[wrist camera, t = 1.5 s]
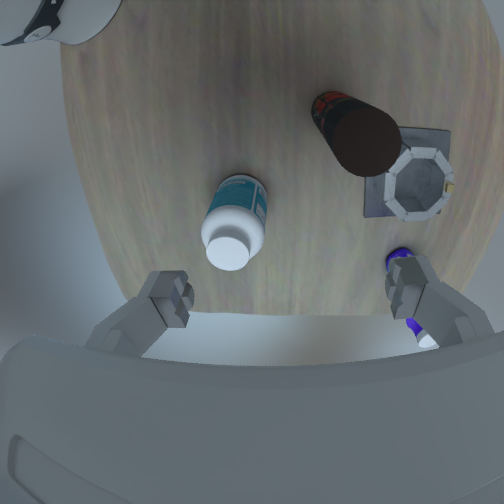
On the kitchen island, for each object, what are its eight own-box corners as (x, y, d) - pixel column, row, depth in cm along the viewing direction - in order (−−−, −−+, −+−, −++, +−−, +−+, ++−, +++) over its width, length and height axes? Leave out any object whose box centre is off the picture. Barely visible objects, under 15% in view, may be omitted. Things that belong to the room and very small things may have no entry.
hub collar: (364, 126, 31) (377, 136, 26) (448, 130, 28) (468, 141, 24) (363, 215, 39) (372, 235, 35) (438, 211, 36) (452, 230, 32)
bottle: (378, 257, 44) (406, 341, 30) (404, 240, 41) (442, 320, 27) (395, 279, 46) (420, 357, 33) (419, 263, 43) (452, 340, 30)
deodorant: (361, 100, 28) (411, 124, 17) (348, 139, 32) (386, 186, 20) (318, 85, 28) (345, 95, 16) (306, 126, 32) (322, 164, 20)
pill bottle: (208, 200, 40) (181, 257, 30) (235, 163, 36) (214, 211, 26) (249, 226, 42) (237, 289, 32) (278, 192, 38) (276, 250, 28)
